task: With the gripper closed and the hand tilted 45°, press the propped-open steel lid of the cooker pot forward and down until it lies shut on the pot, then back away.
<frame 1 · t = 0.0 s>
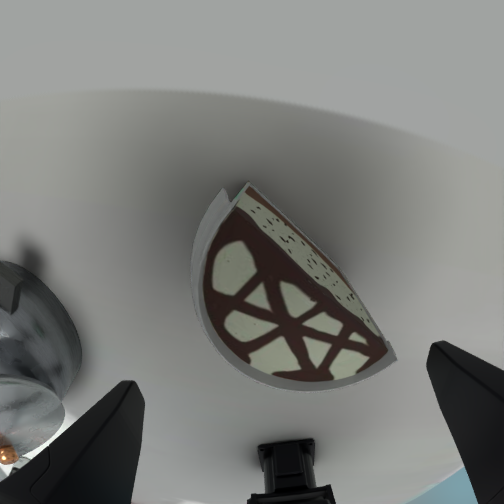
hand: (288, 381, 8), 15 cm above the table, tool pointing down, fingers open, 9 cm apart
cooker pot: (21, 328, 25), on the table
food container: (266, 255, 23), on the table
supplement can: (35, 467, 39), on the table
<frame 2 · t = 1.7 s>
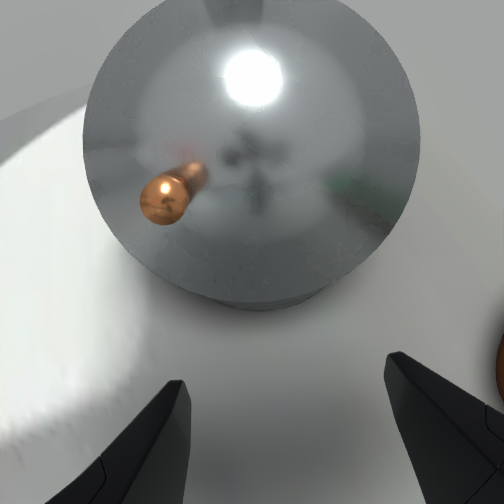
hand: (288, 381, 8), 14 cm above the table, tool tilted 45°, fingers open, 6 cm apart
cooker pot: (260, 218, 26), on the table
cooker lid: (247, 93, 12), point 14 cm above the table, hinge at 50.0°
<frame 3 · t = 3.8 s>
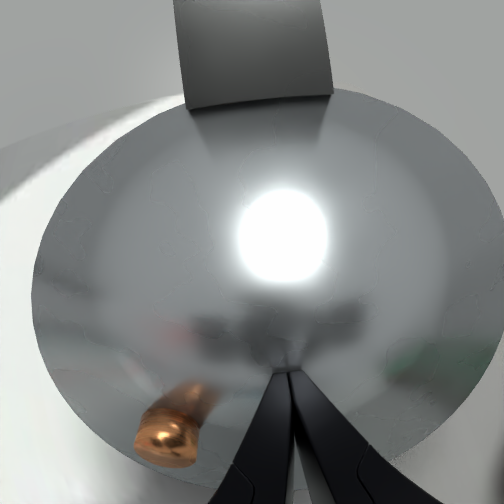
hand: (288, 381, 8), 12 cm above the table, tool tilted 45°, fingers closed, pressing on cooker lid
cooker lid: (284, 328, 8), point 14 cm above the table, hinge at 45.9°, touching gripper
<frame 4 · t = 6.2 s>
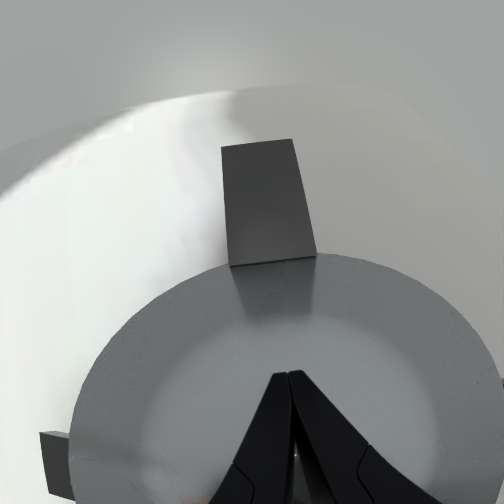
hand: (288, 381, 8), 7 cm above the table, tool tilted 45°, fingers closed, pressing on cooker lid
cooker pot: (290, 450, 14), on the table
cooker lid: (293, 427, 8), point 7 cm above the table, hinge at -0.2°, touching gripper
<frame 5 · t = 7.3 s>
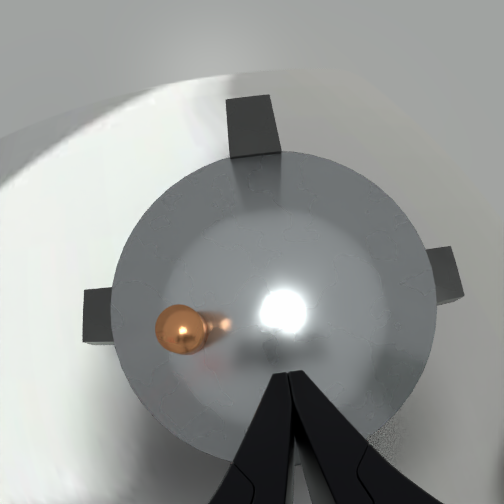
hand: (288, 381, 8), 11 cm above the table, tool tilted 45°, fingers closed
cooker pot: (274, 320, 21), on the table
cooker lid: (267, 240, 15), point 7 cm above the table, hinge at -0.2°
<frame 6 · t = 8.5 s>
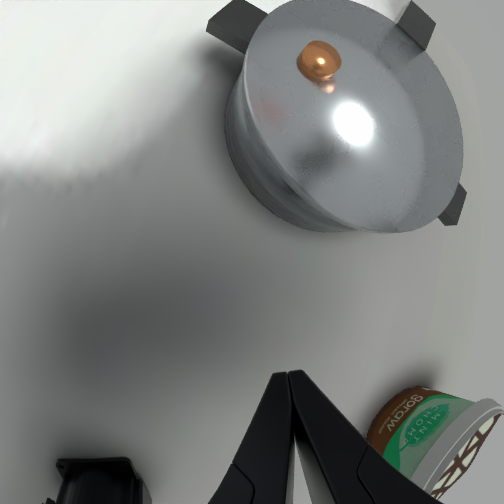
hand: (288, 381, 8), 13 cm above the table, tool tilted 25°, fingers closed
cooker pot: (323, 132, 23), on the table
food container: (389, 416, 25), on the table
cooker lid: (392, 74, 16), point 7 cm above the table, hinge at -0.2°
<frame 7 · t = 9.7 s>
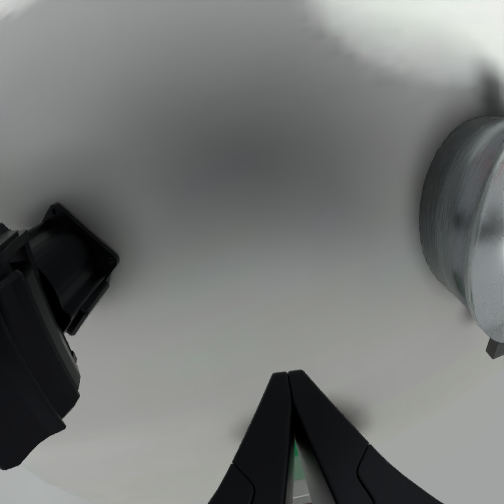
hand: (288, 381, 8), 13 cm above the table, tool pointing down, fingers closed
cooker pot: (491, 209, 20), on the table
food container: (307, 422, 28), on the table
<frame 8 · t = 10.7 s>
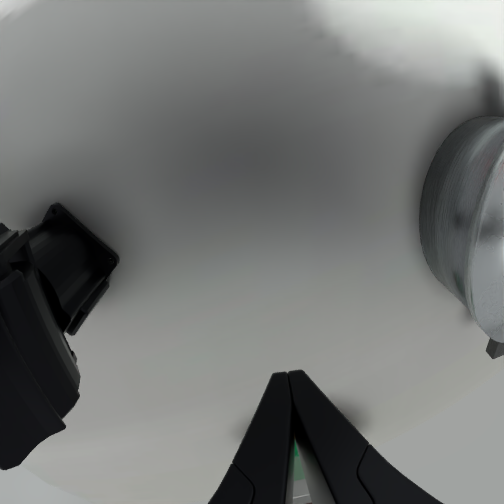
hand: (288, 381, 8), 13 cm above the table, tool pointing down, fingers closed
cooker pot: (491, 209, 20), on the table
food container: (307, 422, 28), on the table
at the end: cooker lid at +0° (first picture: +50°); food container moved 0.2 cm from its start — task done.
